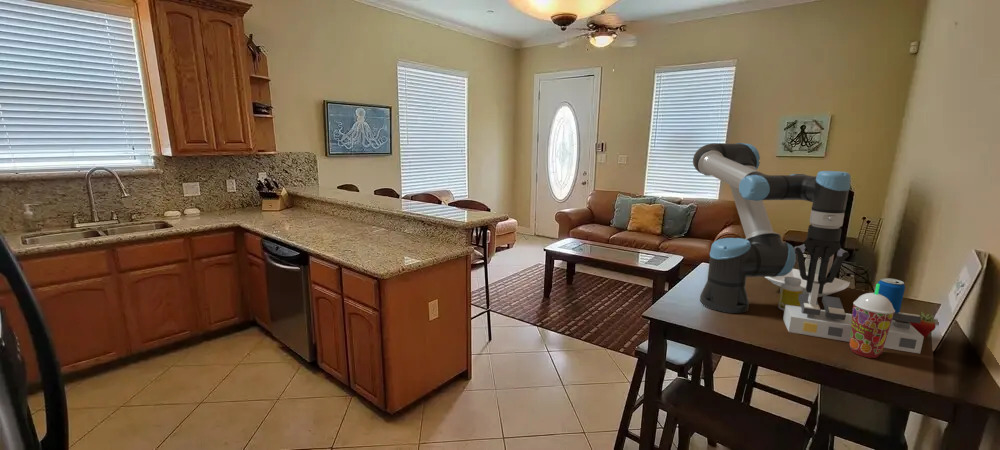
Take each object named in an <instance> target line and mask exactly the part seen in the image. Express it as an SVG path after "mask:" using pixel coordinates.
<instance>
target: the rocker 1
mask: <svg viewBox="0 0 1000 450" xmlns="http://www.w3.org/2000/svg"><path fill="white" fill-rule="evenodd" d="M808 297H809V295H807V294H799V297H798V299H799V302H800V307H801V308H802V311H803V313H806V314H813V315H820V311H821V310H822V309H821V307H820V304H819V303H818V301H817V302H816V305H812V304H809V302H808Z"/></svg>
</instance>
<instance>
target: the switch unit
mask: <svg viewBox="0 0 1000 450" xmlns="http://www.w3.org/2000/svg"><path fill="white" fill-rule="evenodd" d="M820 310H821V311H820V315H813V314H806V313H803V311H802V308H801V306H800V307H798V306H791V305H785V310H784V311H783V316H782V317H783V319H782V320H783V323H784V324H785V327H786V329H787V331H788V332H789V333H793V334H800V335H803V336H804V335H805V336H811V337H817V338H824V339H829V340H834V341H842V342H847V343H849V342H850V332H851V322H852V313H846V312H845V314H846V317H845V320H839V319H833V318H827V315H826V312H825V309H820ZM924 339H925V338H924V336H923V335H921V334H920V333H919V332H918V331H917V330H916V329H915V328H914V327H913V326H912V325H911V324H910V322H906V321H900V320H895V319H892V321H891V325H890V328H889V331H888V335H887V338H886V341H885V344H884V348H883V349H888V350H889V349H890V350H896V351H901V352H908V353H914V354H921V351H922V348H923V343H924Z"/></svg>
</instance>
